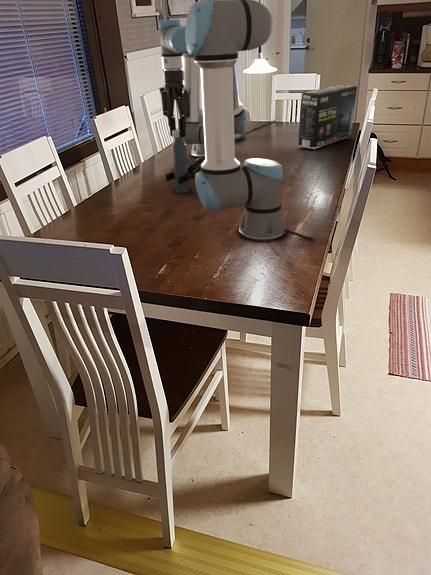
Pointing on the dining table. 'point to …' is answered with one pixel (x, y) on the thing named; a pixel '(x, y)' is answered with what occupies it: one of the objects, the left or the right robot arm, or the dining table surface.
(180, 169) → the bottle
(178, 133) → the cap
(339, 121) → the router box
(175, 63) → the right robot arm
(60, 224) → the dining table surface
